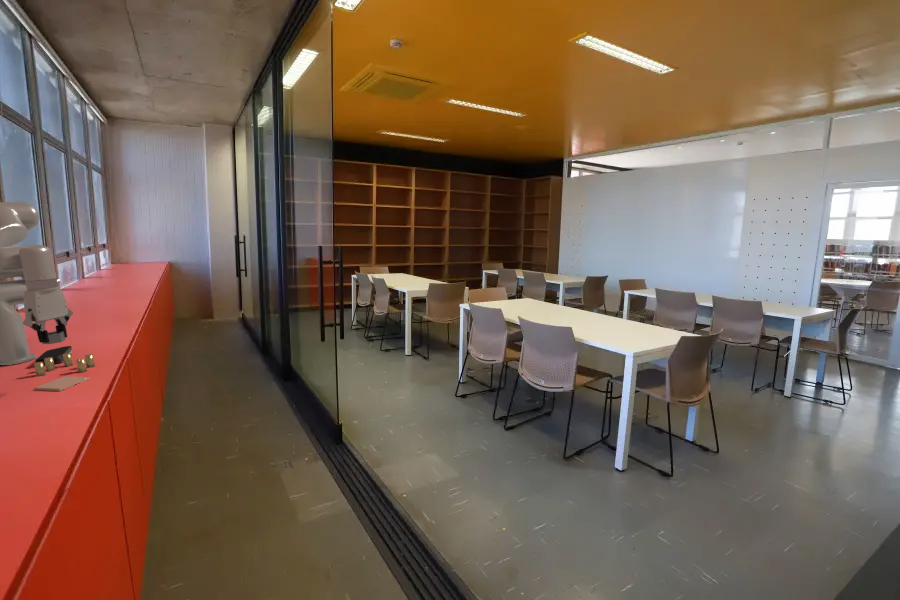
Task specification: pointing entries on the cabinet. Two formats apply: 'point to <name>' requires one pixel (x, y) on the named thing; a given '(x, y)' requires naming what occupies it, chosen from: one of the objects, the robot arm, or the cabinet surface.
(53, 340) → the steel nut
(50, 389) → the tan tile
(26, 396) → the cabinet surface
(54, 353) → the black sponge
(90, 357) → the brass standoffs
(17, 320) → the robot arm
